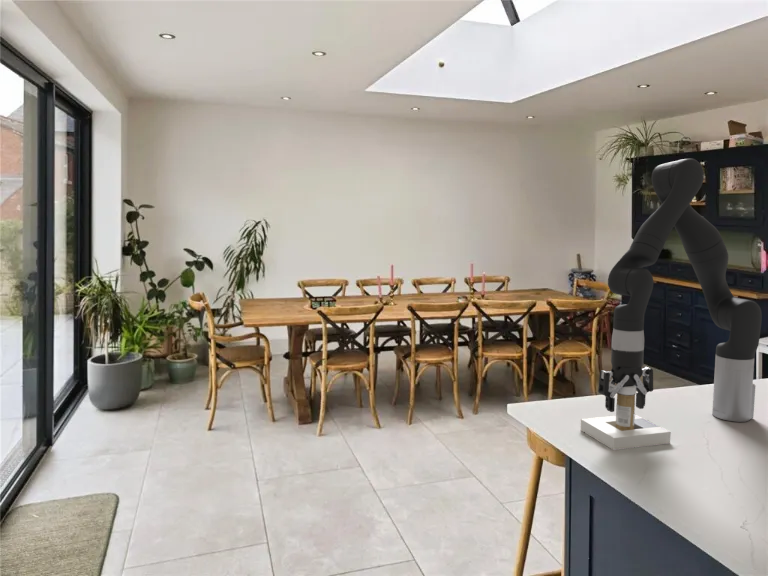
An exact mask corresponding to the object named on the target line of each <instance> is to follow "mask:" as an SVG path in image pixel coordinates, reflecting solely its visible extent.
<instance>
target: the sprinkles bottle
mask: <svg viewBox="0 0 768 576" xmlns="http://www.w3.org/2000/svg"><path fill="white" fill-rule="evenodd" d="M636 393H637V390H636V386H635V385H634V386H628V387H622V388H621V389H620V391H618V392H617V393H616V404H615V405H616V406H615V407H616V410H615V416H616V428H617V429H619V430H621V431H625V430H634V421H635V415H636V414H635V409H636V408H635V407H636Z"/></svg>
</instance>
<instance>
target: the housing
mask: <svg viewBox="0 0 768 576" xmlns="http://www.w3.org/2000/svg"><path fill="white" fill-rule="evenodd" d="M580 431H581V432H583V433H584V432H585V433H584V434H586V435H587V436H590V437H592V439H595V440H597V441H598V442H600V443H601V444H603V445H604V446H606V447H608V448H609V449H611V450H613V451H617V450H623V449H624V450H625V448H627V449H633V448H634V447H635V448H642V447H653V446H659V445H667V444H671V434H672V433H671V432H672V431H671V430H669V429H666V428H664V427H663V426H661V425H657V424H656V423H653V422H651V421H649V420H647V419H646V418H644V417H641V416H639V415H637V414H635V421H634V430H625V431H621V430H619V429H617V428H616V415H607V416H599V417H597V416H596V417H589V418H581V419H580ZM635 448H634V449H635Z"/></svg>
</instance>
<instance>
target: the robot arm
mask: <svg viewBox="0 0 768 576" xmlns="http://www.w3.org/2000/svg"><path fill="white" fill-rule="evenodd" d="M704 177H705V172H704V168H703V166H702V164H701V163H700V162H699V161H698V160H696V159H695V158H684V159H683V158H682V159H678V160H675V161H674V160H673V161H670V162H665V163H662V164H659V165H657V166H655V167H654V169H653V170H652V173H651V183H652V184H651V185H652V188H653V190H654V193H655V194H656V196H657V198H658V200H659V202H660V206H659V207H658V208H657V209H656V210H655V211H653V213H651V215H649V217H647V219H646V220H645V221H644V222H643V223H642V225H640V227H639V229H638V230H637V232H636V234H635V236H634V239H633V240H632V242H631V245H629V249H628V250H627V251H626V252H625V253H624V254H623V255H622V256H621V257H620V258H619V260H618V261H616V263H615V264H614V266H613V267H612V269H610V272H609V274H608V276H607V277H608V278H607V286H608V289H609V290H610V292H612V293H613V294H615V295H621V296H629V297H630V298H629V300H628V302H627V304H619V305H617V306H615V308H614V310H613V325H612V329H613V330H612V335H611V348H610V349H611V352H610V353H611V354H610V363H611V369H610V371H609V370H608V371H607V370H602V369H601V370H600V371H599V377H598V378H599V379H598V390H597V392H598V393H599V394H600V395H602V396H604V397H605V403H604V404H605V405H604V406H605V409H606V410H607V411H609V413H613V412H615V407H616V406H615V405H616V404H615V402H616V399H615V396H616V395H617V392H618V391H620V389H621V388H622V387H628V386H634V385H635V386H636V394H635V407H636V408H637V409H640V410H643V409H644V408H645V407H646V395H648V394H647V393H649V392H653V391H654V369H652V368H651V367H647V366H644V354H645V353H644V352H645V351H644V350H645V333H644V332H645V331H644V327H645V326H644V325H645V314H646V310H647V306H648V303H649V301H650V298H651V295H652V293H653V288H654V278H653V275H652V273H651V272H650V270H649V269H647V268H645V267H650V266H652V265H655V264H656V262H657V261H658V259H659V257H660V255H661V252H662V250H663V248H664V246H665V244H666V242H667V240H668V238H669V236H670V234H671V232H672V230H673V228H674V229H675V231H676V233H677V235H678V237H679V239H680V241H681V245H683V248H684V252H685V254H686V256H687V258H688V261H689V262H690V265H691V266H692V268H693V271H694V273H695V276H696V278H697V280H698V283H699V285H700V287H701V290H702V293H703V296H704V299H705V301H706V302H705V303H706V305H707V309H708V312H709V314H710V317H711V320H712V321H713V323H714V325H715V326H717V327H718V328H720V329H722V330H724V331H729V337H728V340H727V341H726V342H720V343H718V344H717V345H716V346H715V347H716V348H715V359H714V375H713V376H714V379H713V393H712V413H711V414H712V416H713V417H715V418H718V419H720V420H724V421H729V422H739V423H743V422H750V420H751V419H754V415H755V414H754V412H755V399H756V397H755V396H756V385H755V383H754V370H755V368H754V366H755V356H756V351H757V349H758V348H759V344H760V337H761V328H762V319H763V318H762V317H763V316H762V315H763V314H762V309H761V307H760V305H759V304H758V303H757V302H756V301H753V300H750V299H745V298H739V297H735V296H734V295H733V293H732V291H731V289H730V287H729V285H728V282H727V279H726V273H727V269H728V264H729V252H728V249H727V247H726V244H725V242H724V240H723V237H722V235H721V234H720V231H719V230H718V229H717V227H715V226H714V225H713V224H712V223H711V222H709V220H707V219H706V218H705V217H704V216H702V215H701V214H699V213H698V212H697V211H696V210H695V209H694V208H693V207H692V205H691V203H692V201H693V199H694V198H695V197H696V195H697V194H698V192H699V190H700V189H701V188H702V186H703V183H704V180H705V179H704ZM643 366H644V367H643ZM641 377H642V379H641Z"/></svg>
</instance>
